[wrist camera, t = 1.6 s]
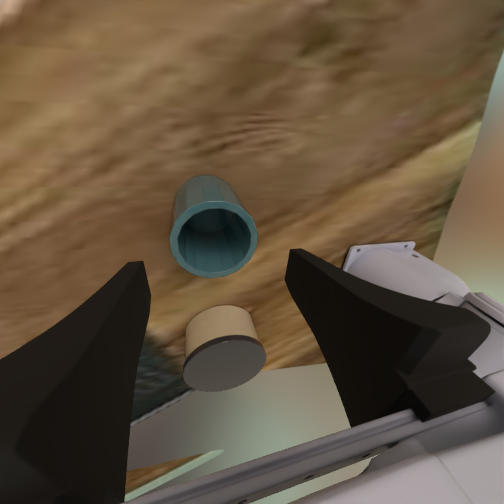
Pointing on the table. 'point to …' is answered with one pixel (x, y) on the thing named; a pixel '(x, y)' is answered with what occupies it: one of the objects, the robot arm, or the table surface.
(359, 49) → the table surface
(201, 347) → the jar
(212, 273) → the cup
